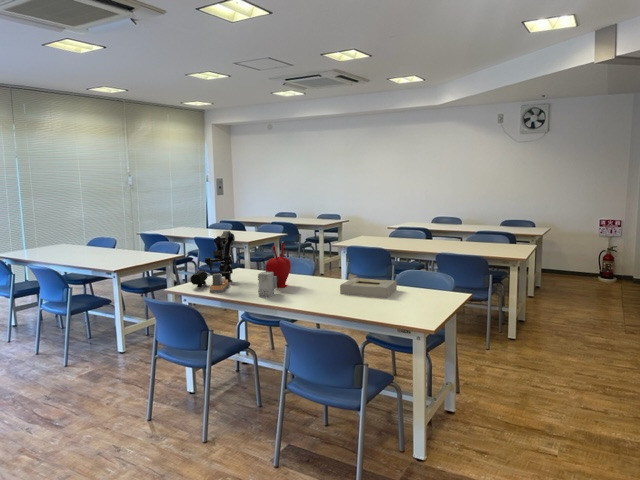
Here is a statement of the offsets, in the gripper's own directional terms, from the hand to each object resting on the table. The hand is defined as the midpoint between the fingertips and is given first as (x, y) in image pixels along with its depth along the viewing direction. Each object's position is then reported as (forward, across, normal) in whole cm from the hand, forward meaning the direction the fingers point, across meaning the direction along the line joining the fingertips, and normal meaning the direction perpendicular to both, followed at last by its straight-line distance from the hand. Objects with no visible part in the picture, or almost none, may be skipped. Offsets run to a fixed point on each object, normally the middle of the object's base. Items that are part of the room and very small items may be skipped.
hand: (217, 270), depth 319 cm
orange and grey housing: (+8, -1, +11) cm, 14 cm away
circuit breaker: (+20, +37, +1) cm, 42 cm away
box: (+19, +102, +9) cm, 105 cm away
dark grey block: (+11, 0, +6) cm, 12 cm away
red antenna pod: (+5, +40, +19) cm, 45 cm away
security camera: (+2, -17, +16) cm, 24 cm away
